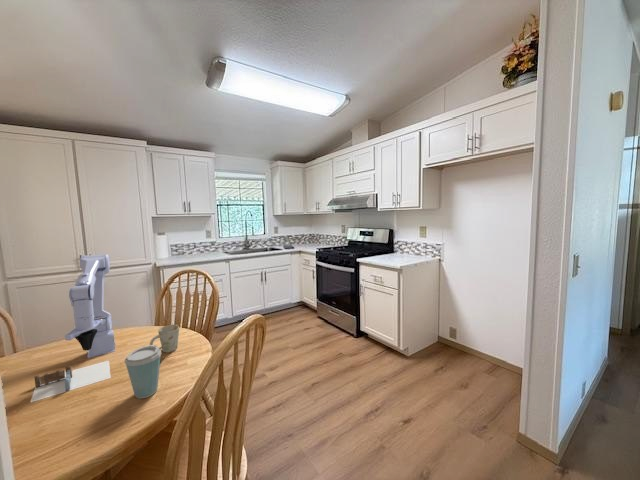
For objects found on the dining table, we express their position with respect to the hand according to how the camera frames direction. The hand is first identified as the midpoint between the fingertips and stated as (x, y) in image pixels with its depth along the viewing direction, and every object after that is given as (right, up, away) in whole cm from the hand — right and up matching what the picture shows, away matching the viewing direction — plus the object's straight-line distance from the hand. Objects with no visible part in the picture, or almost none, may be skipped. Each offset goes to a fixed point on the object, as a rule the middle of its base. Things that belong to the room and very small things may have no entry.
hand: (87, 349), depth 106 cm
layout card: (-1, -10, -4) cm, 11 cm away
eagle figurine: (+23, -9, +3) cm, 25 cm away
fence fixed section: (-7, -10, -6) cm, 13 cm away
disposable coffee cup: (+30, -11, -11) cm, 34 cm away
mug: (+21, -8, +17) cm, 28 cm away
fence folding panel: (0, -9, -8) cm, 12 cm away
